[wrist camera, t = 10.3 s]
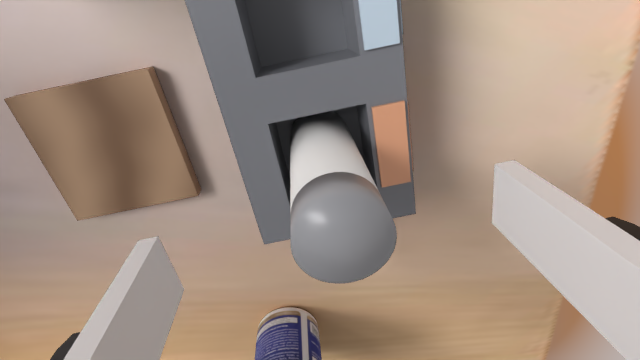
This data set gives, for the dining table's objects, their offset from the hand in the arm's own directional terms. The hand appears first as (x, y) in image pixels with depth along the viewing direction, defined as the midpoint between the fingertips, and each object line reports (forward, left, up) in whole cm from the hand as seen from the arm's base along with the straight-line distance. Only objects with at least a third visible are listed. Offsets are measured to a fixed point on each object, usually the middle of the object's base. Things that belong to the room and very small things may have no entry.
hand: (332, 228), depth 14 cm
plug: (0, 0, -11) cm, 11 cm away
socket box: (0, +4, -12) cm, 13 cm away
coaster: (-14, +2, -12) cm, 18 cm away
